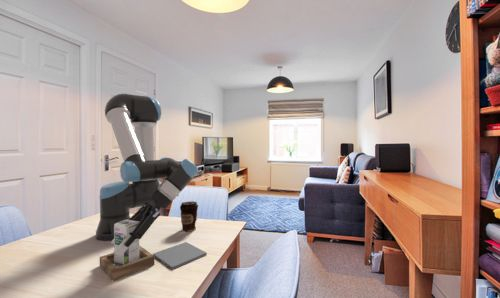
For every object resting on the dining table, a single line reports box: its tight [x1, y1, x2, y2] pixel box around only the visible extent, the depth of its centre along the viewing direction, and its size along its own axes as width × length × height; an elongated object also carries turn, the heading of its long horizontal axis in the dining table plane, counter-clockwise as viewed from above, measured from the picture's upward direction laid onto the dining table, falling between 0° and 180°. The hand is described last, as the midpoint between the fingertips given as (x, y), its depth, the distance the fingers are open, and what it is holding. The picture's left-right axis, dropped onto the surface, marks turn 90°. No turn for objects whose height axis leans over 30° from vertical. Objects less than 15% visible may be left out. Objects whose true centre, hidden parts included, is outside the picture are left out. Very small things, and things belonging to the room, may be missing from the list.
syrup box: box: [113, 219, 140, 267], centre depth 81 cm, size 6×6×14 cm
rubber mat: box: [152, 241, 208, 270], centre depth 88 cm, size 14×14×1 cm
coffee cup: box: [179, 200, 199, 232], centre depth 114 cm, size 9×8×13 cm
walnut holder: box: [99, 244, 155, 281], centre depth 81 cm, size 13×13×3 cm
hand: (115, 248), depth 79 cm, fingers closed on syrup box, 8 cm apart
